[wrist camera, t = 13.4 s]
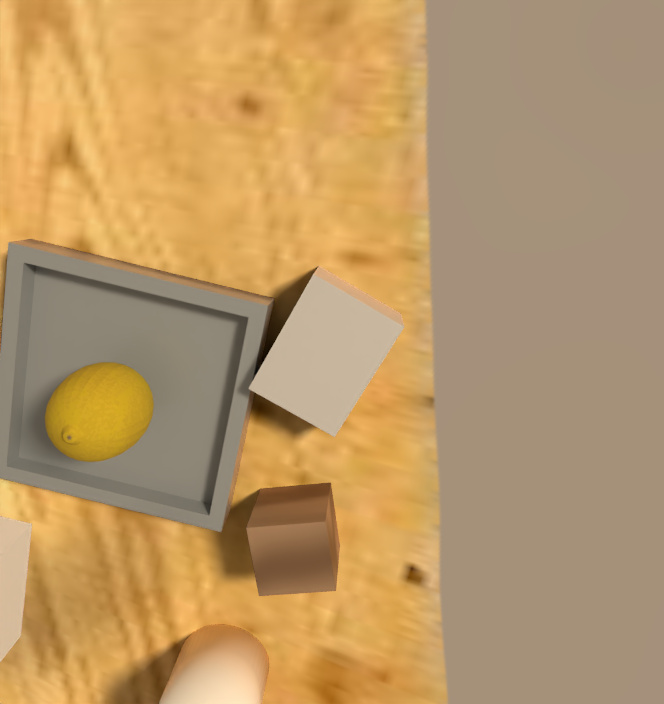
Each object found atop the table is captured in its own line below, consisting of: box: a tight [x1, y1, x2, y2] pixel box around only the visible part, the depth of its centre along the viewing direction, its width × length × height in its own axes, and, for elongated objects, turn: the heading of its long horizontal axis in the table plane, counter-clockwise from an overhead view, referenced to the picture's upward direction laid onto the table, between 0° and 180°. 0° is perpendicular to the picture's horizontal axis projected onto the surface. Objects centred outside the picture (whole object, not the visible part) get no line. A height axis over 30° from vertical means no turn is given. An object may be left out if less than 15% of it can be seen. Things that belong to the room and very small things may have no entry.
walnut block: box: [246, 483, 340, 596], centre depth 39 cm, size 5×5×5 cm
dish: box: [0, 239, 274, 532], centre depth 38 cm, size 16×16×2 cm
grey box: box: [248, 266, 404, 437], centre depth 36 cm, size 8×6×4 cm
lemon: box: [45, 362, 154, 462], centre depth 34 cm, size 6×6×8 cm
